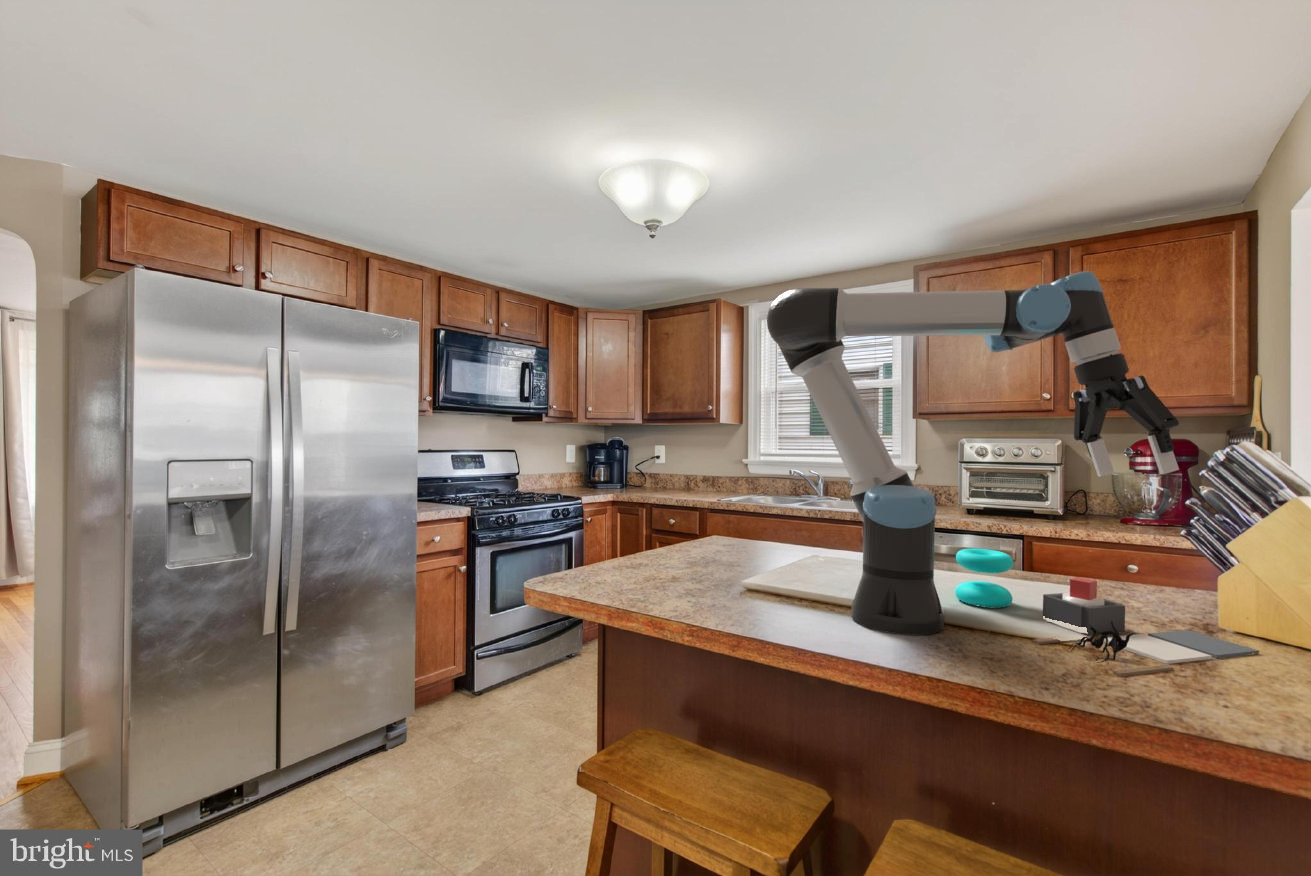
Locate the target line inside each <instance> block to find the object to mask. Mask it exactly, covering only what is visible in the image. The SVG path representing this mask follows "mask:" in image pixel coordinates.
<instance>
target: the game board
mask: <svg viewBox="0 0 1311 876" xmlns="http://www.w3.org/2000/svg"><path fill="white" fill-rule="evenodd" d="M1063 593H1064V592H1059V593H1046V594H1043V595H1042V617H1043V616H1045V618H1049V619H1052V620H1057V621H1062V622H1064V623H1069V624H1071V625H1075V626H1078V627H1086V628H1087V632H1088V635H1087V636H1092V635H1093V631H1092V630H1091V629H1090V628H1091V627H1090V625H1091V626H1092V627H1093V628H1094V629H1095V630H1096V631H1097V632H1098V633H1101V632H1104V631H1113V632H1115V631H1114V630H1113V628H1112V626H1111V621H1113V625H1114V627H1115V629H1116V630H1117V632H1118V634H1120V633H1126V629H1125V628H1126V605H1124V604H1123V603H1120V602H1118V601H1117V602H1116V601H1112V600H1109V599H1105V598H1103V599H1104V605H1101V606H1088V607H1086V606H1082V605H1079V604H1076V603H1072V602H1069V601H1066V600H1062V597H1063ZM1097 632H1096V636H1097V635H1100V634H1098V633H1097ZM1126 636H1127V635H1120V637H1121V638H1122V639H1123V640H1125V639H1126ZM1107 637H1108V644H1109V642H1110V641H1111V640H1112V638H1113V636H1107ZM1053 638H1054V637H1047V638H1046V637H1045V638H1038V639H1037V638H1036V639H1032V642H1033V643H1034V644H1036V645H1043V644H1044V645H1045V644H1055V643H1056V644H1057V643H1062V642H1061V641H1060V640H1058V639H1053ZM1087 639H1089V637H1088V638H1087ZM1103 643H1106V639H1104V642H1103ZM1108 644H1107V645H1108ZM1123 650H1125V651H1129V652H1131V653H1134V654H1137V655H1139V656H1142V657H1146V658H1149V659H1151V660H1153V661H1157V662H1159V663H1162V665H1153V666H1144V667H1142V666H1141V667H1135V668H1125V669H1124V668H1123V669H1117V670H1112V674H1113V675H1114V676H1118V677H1127V676H1134V675H1135V676H1136V675H1144V674H1153V673H1160V672H1169V671H1175V667H1174V666H1172V665H1171V664H1178V663H1187V662H1188V663H1189V662H1196V661H1206V660H1212V658H1214V659H1223V658H1224V659H1225V658H1232V657H1242V656H1241V655H1243V656H1248V654H1252V653H1259V654H1260V650H1259V649H1255V648H1252V647H1248V646H1245V645H1241V644H1238V643H1234V642H1232V641H1228V640H1224V639H1221V638H1217V637H1214V636H1210V635H1208V634H1204V633H1201V632H1197V631H1193V630H1189V629H1184V630H1183V629H1182V630H1174V631H1173V630H1172V631H1163V632H1161V631H1160V632H1152V633H1151V632H1148V633H1147V634H1145V633H1137V634H1133V635H1131V636H1130V638H1129V641H1128V643H1127V646H1126V647H1125V648H1124V649H1123ZM1252 655H1253V654H1252Z"/></svg>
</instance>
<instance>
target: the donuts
mask: <svg viewBox="0 0 1311 876" xmlns="http://www.w3.org/2000/svg"><path fill="white" fill-rule="evenodd" d="M1013 559H1014V558H1012V556H1011V555H1010V554H1007V553H1006V552H1003V551H998V550H993V549H986V548H964V549H960V550H959V551H957V553H956V554H955V560H956V562H957V563H958V565H959V566H961V567H963V569H965V570H969V571H971V572H976V573H982V574H983V573H984V574H1002V573H1005V572H1008V571H1009V570H1011V569H1012V568H1013V566H1014V560H1013ZM954 593H955V597H956V598H957V599H958V600H959V601H960V600H961V602H962V603H964V602H965V604H967V603H968V604H967V605H970V604H972V605H971V606H974V605H979V606H985V607H1003V608H1006V606H1007V607H1009V606H1011V604H1012V602H1013V595H1012V593H1011V591H1009V590H1008V589H1007V588H1006V587H1004V586H1002V585H1000V584H997V583H996V584H995V583H994V582H988V581H982V580H981V581H979V580H974V581H973V580H971V581H965V582H961V583H960V584H958V585H957V586H956V587H955V590H954ZM985 607H984V608H985Z"/></svg>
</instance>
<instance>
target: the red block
mask: <svg viewBox="0 0 1311 876" xmlns="http://www.w3.org/2000/svg"><path fill="white" fill-rule="evenodd" d="M1097 587H1098V581H1097V580H1095V579H1089V578H1084V577H1078V576H1077V577H1074V578H1070V579H1069V592H1062V593H1063V597H1062V600H1066V601H1069V602H1072V603H1076V604H1079V605H1082V606H1086V607H1088V606H1101V605H1104V599H1105V598H1102V597H1100V596H1097V595H1098V588H1097Z"/></svg>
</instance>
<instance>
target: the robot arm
mask: <svg viewBox="0 0 1311 876" xmlns="http://www.w3.org/2000/svg"><path fill="white" fill-rule="evenodd" d="M1104 295H1105V293H1104V290H1103V289H1102V286H1101V284H1100V282H1099V280H1098V278H1097V276H1096V274H1095V273H1094V272H1092V271H1090V270H1085V271H1079V272H1076V273H1072V274H1070V275H1067V276H1065V277H1061V278H1060V279H1059V278H1058V279H1057V280H1055V281H1052V282H1050V283H1041V284H1037V285H1034V286H1030V287H1029V288H1026V289H1008V290H1007V289H1006V290H1003V289H1002V290H997V289H996V290H993V289H992V290H960V291H959V290H956V291H955V290H954V291H953V290H951V291H914V292H913V291H911V292H910V291H907V292H906V291H903V292H902V291H901V292H859V293H858V292H857V293H847V292H845V291H844V289H842V288H841V287H831V288H830V287H827V288H826V287H803V288H802V287H801V288H800V287H799V288H792V289H789V290H786V291H785V292H783V293H782V294H780V295H779V296H777V297H776V298H775V299H774V300H773V302H772V303H771V304H770V307H769V308H768V312H767V317H766V326H767V330H768V333H769V335H770V337H771V338H772V340H773V341H774V342H775V343H776V344H777V345H778V347H779V349H780V352H781V353H782V355H783V358H784V360H785V362H786V364H787V366H788V369H789V370H790V373H791V374H793V375H796V376H799V377H801V378H802V380H803V381H804V384H805V386H806V388H807V390H808V393H809V394H810V396H811V398H812V400H813V401H812V402H813V403H814V404H815V407H816V409H817V410H818V413H819V415H820V417H821V419H822V422H823V423H824V425H825V427H826V429H827V432H828V434H829V436H830V438H831V440H832V442H833V444H834V447H835V448H836V450H837V452H838V454H839V457H840V458H841V461H842V463H843V465H844V467H845V470H846V471H847V473H848V475H849V477H850V479H851V481H852V487H851V490H850V493H849V495H850V497H851V500H852V502H853V503H854V505H855V508H856V510H857V512H858V514H859V517H860V518H861V519H860V520H861V521H862V522H863V529H862V530H863V533H862V534H863V537H862V574H861V578H860V580H859V583H858V585H857V588H856V593H855V594H854V598H853V600H852V602H851V612H850V613H851V614H850V616H851V618H852V620H853V621H854V622H856V623H858V624H860V625H862V626H863V627H867V628H868V629H869V628H870V629H872V630H877V631H880V632H881V631H882V632H886V633H893V634H899V635H909V636H910V635H915V636H919V635H922V636H923V635H930V634H931V635H932V634H936V633H938V632H939V633H940V632H941V631H942V630H944V628H945V614H944V610H943V609H942V605H941V604H942V603H941V601H940V597H939V594H938V590H937V587H936V585H935V580H934V579H935V578H934V574H935V570H934V569H935V534H936V533H935V532H936V531H935V526H936V525H935V524H936V523H935V522H936V520H935V519H936V515H937V506H936V499H935V495H934V494H933V493H932V492H930V491H929V490H927V489H924V488H919V487H918V486H917V487H916V486H914V484H913V482H912V480H911V478H910V476H909V474H908V472H907V470H905V469H902V468H900V467H897V466H896V465H895V463H894V462H893V459H892V458H891V455H890V454H889V451H888V450H887V447H886V445H885V444H884V441H883V439H882V437H881V435H880V434H879V432H878V429H877V427H876V425H875V423H874V421H873V419H872V417H871V415H870V412H869V410H868V409H867V407H866V404H865V403H864V401H863V399H862V397H861V395H860V393H859V391H858V389H857V386H856V384H855V383H854V380H853V378H852V376H851V374H850V373H849V370H848V367H846V364H845V362H844V360H843V355H844V352H845V349H846V347H845V345H844V342H843V338H845V337H903V336H904V337H909V336H910V337H912V336H913V337H916V336H917V337H919V336H920V337H921V336H922V337H927V336H928V337H929V336H930V337H931V336H933V337H935V336H940V337H941V336H946V337H947V336H953V337H955V336H958V337H959V336H962V337H963V336H983V339H984V342H985V343H986V346H987V347H988V349H989V351H990V352H992V353H1001V352H1003V351H1004V352H1005V351H1008V350H1009V351H1012V350H1014V349H1016V348H1019V347H1022V346H1023V347H1024V346H1025V345H1029V344H1033V343H1035V342H1038V341H1042V340H1045V339H1049V338H1052V337H1055V336H1059V335H1062V337H1063V341H1064V344H1065V345H1064V346H1065V348H1066V351H1067V353H1068V357H1069V360H1070V363H1073V364H1076V365H1075V366H1074V368H1073V371H1074V373H1075V377H1076V379H1077V383H1078V384H1079V385H1081V386H1085V388H1084V389H1080V390H1076V391H1073V392H1072V396H1073V400H1074V426H1073V438H1074V440H1075V441H1082V443H1084V444H1085V446H1086V448H1087V451H1088V454H1089V457H1090V458H1091V460H1092V463H1093V465H1094V468H1095V471H1096V475H1097V477H1098V478H1099V477H1105V476H1107V475H1113V474H1115V470H1114V466H1113V464H1112V462H1111V458H1110V455H1109V453H1108V449H1107V446H1106V444H1105V443H1106V442H1105V440H1104V439H1103V437H1102V436H1101V432H1102V428H1103V426H1104V422H1105V420H1106V415H1107V413H1108V411H1110V410H1116V409H1118V410H1120V411H1121V410H1122V411H1124V412H1125V413H1127V415H1129V417H1131V418H1132V419H1133V420H1135V421H1136V422H1137V423H1139V424H1140V425H1141V426H1142V427H1143V428H1144V429H1145V430H1146V431H1148V434H1147V435H1148V436H1147V437H1146V438H1147V439H1148V440H1147V441H1148V443H1149V446H1150V448H1151V451H1152V454H1153V457H1154V460H1155V462H1156V463H1155V464H1156V466H1157V468H1158V471H1159V475H1165V474H1166V475H1167V474H1169V473H1172V472H1176V471H1179V470H1180V468H1179V465H1178V462H1177V460H1176V456H1175V453H1174V451H1175V446H1174V443H1173V440H1172V438H1171V435H1170V430H1172V429H1173V428H1175V427H1177V426H1179V424H1180V423H1179V420H1178V419H1177V418H1176V416H1175V415H1174V414H1173V413H1172V412H1171V411H1170V410H1169V408H1168V407H1167V406H1166V405H1165V404H1164V403H1163V402H1162V400H1161V399H1160V398H1159V397H1158V396H1157V394H1156V393H1155V392H1154V391H1153V390H1152V388H1151V387H1150V386H1149V384H1148V382H1147V379H1146V377H1145V376H1144V375H1137V376H1134V377H1130V378H1127V376H1126V374H1128V373H1129V371H1130V369H1129V366H1128V363H1127V360H1126V359H1127V358H1126V356H1125V354H1123V353H1122V352H1121V353H1119V351H1120V350H1121V349H1122V346H1121V343H1120V340H1119V337H1118V334H1117V332H1116V329H1115V325H1114V323H1113V321H1112V317H1111V314H1110V311H1109V308H1108V304H1107V301H1106V298H1105V296H1104Z"/></svg>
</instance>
